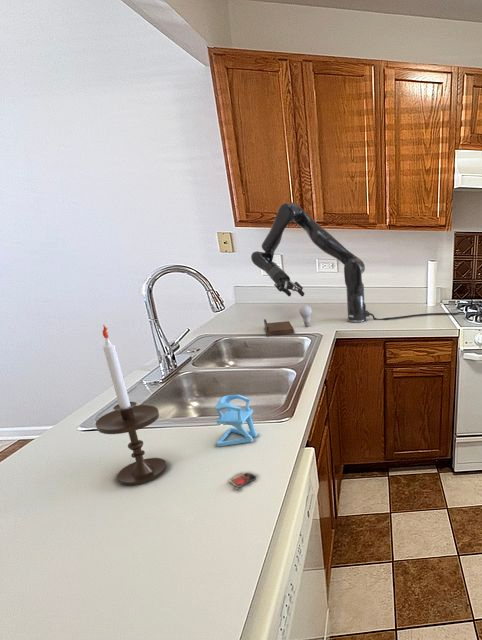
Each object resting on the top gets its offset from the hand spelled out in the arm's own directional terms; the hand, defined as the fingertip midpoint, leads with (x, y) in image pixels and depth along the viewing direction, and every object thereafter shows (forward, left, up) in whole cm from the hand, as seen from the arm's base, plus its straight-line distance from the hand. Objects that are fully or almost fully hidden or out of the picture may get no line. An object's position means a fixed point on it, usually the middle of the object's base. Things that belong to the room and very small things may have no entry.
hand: (297, 295), depth 205 cm
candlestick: (+53, +118, -15) cm, 130 cm away
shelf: (+12, +12, -15) cm, 22 cm away
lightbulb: (-2, +9, -15) cm, 18 cm away
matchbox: (+33, +130, -15) cm, 135 cm away
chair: (+33, +111, -15) cm, 116 cm away
